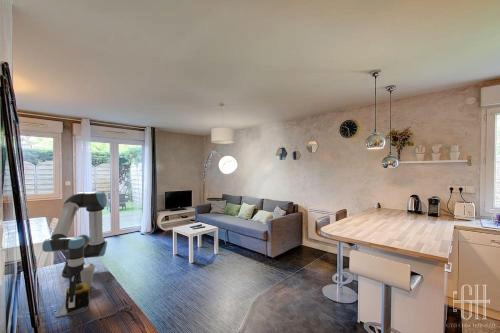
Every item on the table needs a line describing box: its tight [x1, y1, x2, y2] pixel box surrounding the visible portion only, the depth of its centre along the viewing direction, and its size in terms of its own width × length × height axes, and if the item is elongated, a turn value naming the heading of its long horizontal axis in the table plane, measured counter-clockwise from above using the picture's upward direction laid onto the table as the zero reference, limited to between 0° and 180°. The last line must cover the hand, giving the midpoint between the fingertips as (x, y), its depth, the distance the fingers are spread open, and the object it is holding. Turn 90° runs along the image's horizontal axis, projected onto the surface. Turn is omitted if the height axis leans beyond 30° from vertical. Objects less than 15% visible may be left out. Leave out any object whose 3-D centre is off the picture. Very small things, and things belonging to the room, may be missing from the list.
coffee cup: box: [79, 262, 96, 289], centre depth 155 cm, size 10×10×15 cm
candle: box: [65, 283, 91, 312], centre depth 134 cm, size 10×10×10 cm
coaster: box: [54, 297, 92, 319], centre depth 133 cm, size 14×14×1 cm
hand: (74, 300), depth 133 cm, fingers open, 13 cm apart
